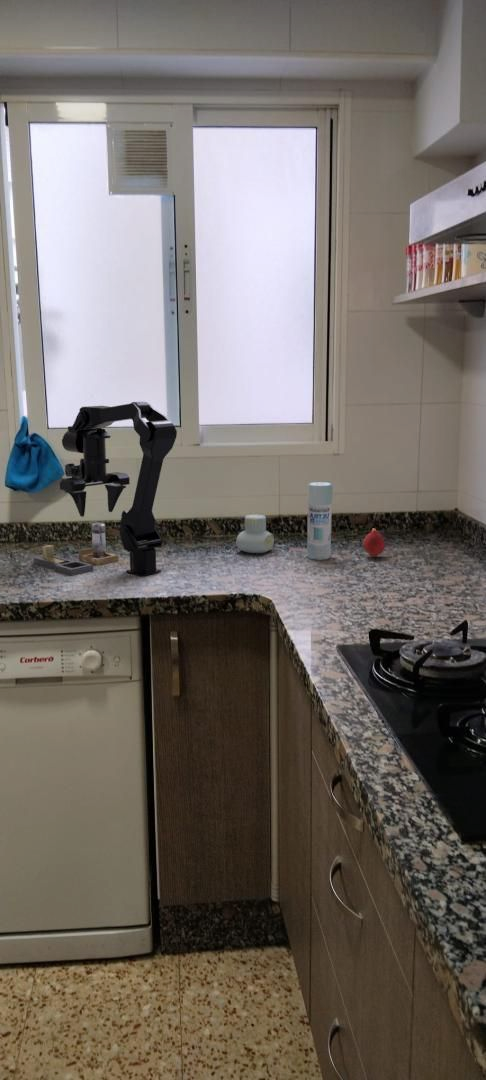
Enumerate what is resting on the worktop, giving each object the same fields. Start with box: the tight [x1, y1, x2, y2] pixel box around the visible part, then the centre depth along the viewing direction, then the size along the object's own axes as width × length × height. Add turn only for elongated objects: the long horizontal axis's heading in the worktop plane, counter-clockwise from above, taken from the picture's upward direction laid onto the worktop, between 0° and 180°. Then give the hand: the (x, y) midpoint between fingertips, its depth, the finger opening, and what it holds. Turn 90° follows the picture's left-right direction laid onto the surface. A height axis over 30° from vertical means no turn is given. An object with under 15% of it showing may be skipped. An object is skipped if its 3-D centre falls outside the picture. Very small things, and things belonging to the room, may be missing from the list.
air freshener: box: [235, 514, 275, 555], centre depth 243 cm, size 11×8×10 cm
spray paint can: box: [306, 481, 333, 561], centre depth 235 cm, size 6×6×20 cm
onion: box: [362, 528, 386, 558], centre depth 236 cm, size 6×6×8 cm
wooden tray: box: [78, 546, 119, 566], centre depth 232 cm, size 8×7×3 cm
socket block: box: [33, 555, 94, 576], centre depth 226 cm, size 18×7×2 cm, turn 46°
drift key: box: [42, 544, 66, 564], centre depth 227 cm, size 7×2×4 cm, turn 46°
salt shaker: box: [91, 522, 107, 558], centre depth 231 cm, size 4×4×10 cm
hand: (96, 514), depth 230 cm, fingers open, 9 cm apart
